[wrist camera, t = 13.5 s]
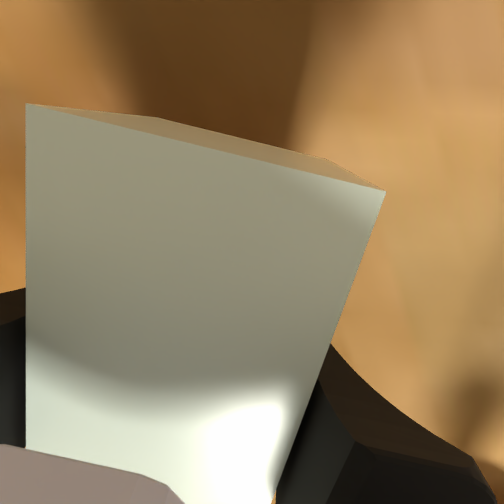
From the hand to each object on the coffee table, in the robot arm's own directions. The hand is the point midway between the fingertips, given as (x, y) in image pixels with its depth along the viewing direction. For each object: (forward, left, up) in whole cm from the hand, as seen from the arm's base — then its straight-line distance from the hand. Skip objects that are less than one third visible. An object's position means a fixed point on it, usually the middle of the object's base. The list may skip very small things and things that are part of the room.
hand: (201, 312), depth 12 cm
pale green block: (0, 0, -2) cm, 2 cm away
